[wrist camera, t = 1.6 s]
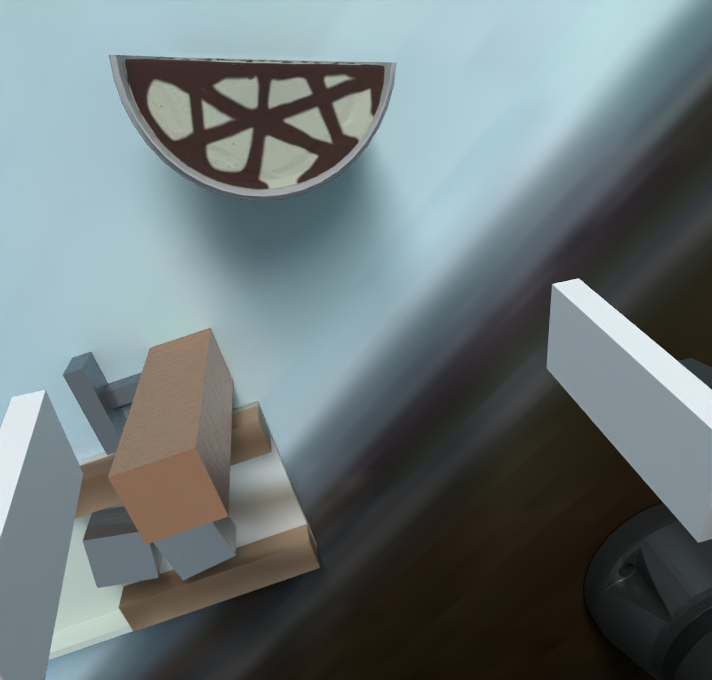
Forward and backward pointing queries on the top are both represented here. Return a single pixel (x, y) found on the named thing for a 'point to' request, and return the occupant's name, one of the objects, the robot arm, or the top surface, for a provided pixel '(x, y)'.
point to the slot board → (247, 511)
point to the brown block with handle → (164, 433)
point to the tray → (85, 604)
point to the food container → (254, 118)
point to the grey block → (119, 549)
